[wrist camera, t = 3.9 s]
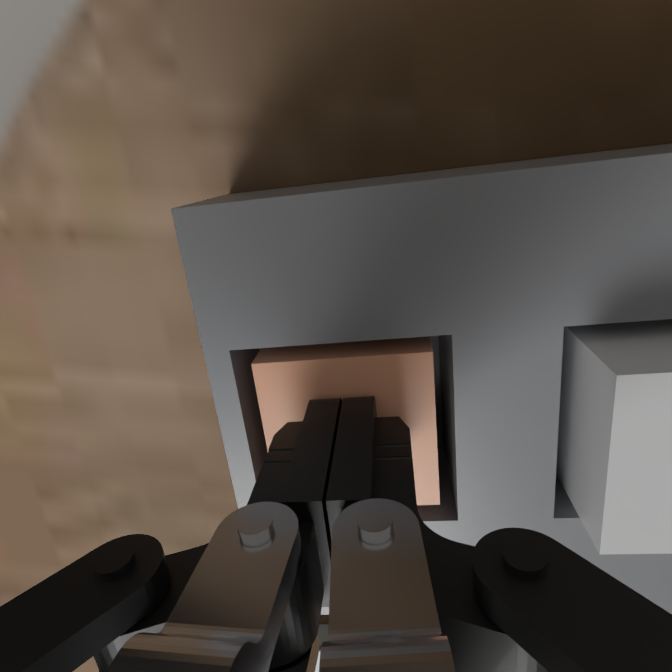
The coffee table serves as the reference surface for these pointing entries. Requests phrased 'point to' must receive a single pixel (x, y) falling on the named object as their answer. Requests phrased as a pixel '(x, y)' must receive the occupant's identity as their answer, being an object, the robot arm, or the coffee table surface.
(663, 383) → the key mid grey
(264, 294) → the keypad
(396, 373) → the key far terracotta
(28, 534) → the coffee table surface
